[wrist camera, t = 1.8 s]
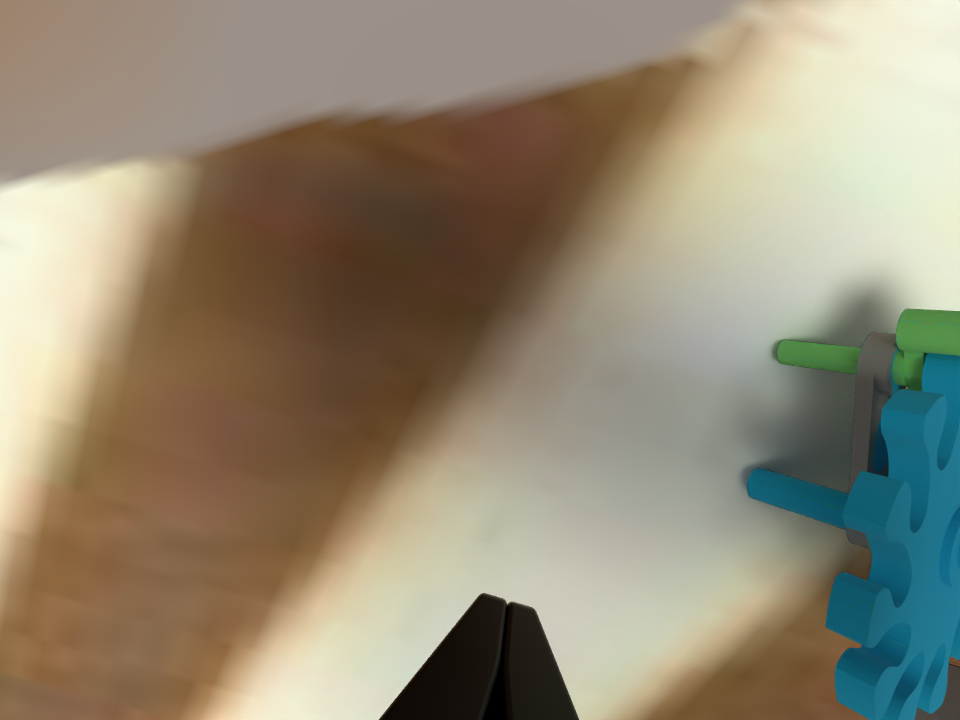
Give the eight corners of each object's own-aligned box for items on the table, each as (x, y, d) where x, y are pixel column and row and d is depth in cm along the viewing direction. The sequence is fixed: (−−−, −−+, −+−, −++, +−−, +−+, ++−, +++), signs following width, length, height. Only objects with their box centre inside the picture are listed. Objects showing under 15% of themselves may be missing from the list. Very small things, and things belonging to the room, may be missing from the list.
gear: (1019, 643, 18) (885, 847, 13) (820, 565, 23) (658, 687, 17) (1069, 288, 16) (931, 344, 10) (837, 284, 21) (657, 320, 15)
